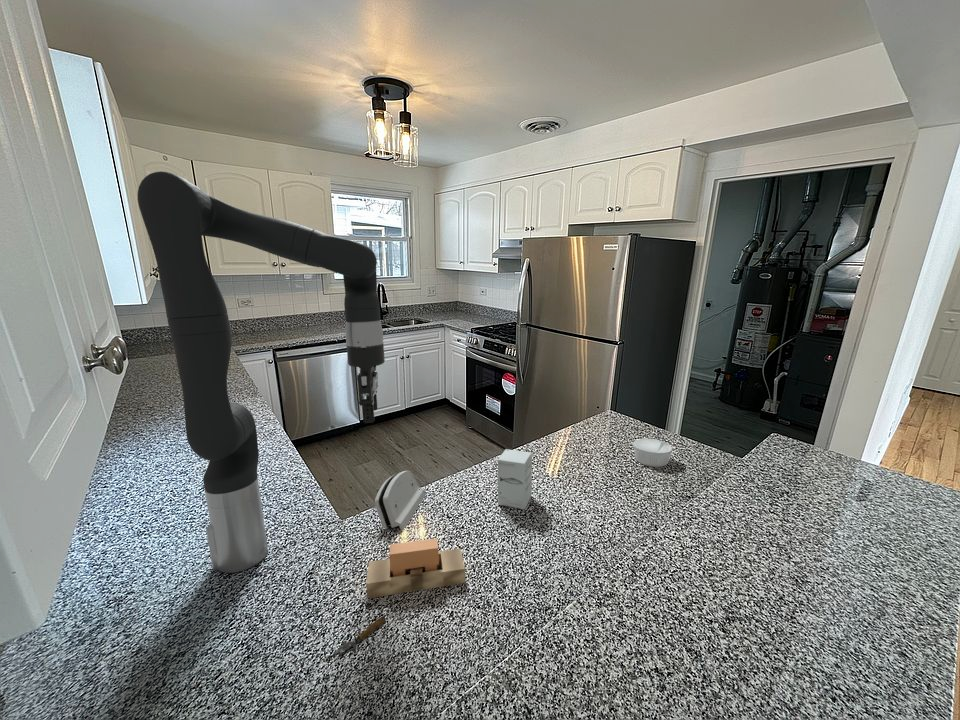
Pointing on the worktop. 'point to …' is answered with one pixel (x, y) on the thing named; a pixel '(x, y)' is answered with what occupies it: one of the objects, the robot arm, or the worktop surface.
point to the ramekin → (652, 452)
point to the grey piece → (398, 500)
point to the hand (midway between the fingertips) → (370, 416)
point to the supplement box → (514, 478)
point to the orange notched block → (413, 556)
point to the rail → (415, 575)
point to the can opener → (361, 636)
